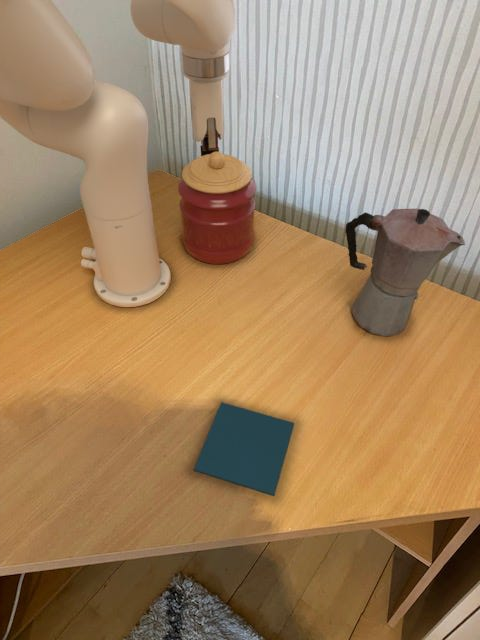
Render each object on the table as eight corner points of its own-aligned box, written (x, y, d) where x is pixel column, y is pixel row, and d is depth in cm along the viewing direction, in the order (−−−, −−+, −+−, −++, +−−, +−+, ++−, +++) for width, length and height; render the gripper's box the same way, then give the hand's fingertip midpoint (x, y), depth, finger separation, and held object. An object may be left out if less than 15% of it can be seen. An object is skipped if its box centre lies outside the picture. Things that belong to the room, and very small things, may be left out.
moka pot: (429, 347, 71) (481, 240, 56) (325, 331, 73) (349, 222, 58) (425, 303, 77) (470, 196, 63) (330, 289, 79) (353, 182, 64)
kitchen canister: (257, 264, 83) (262, 173, 70) (183, 267, 82) (174, 175, 69) (249, 220, 92) (253, 132, 79) (182, 223, 91) (175, 134, 78)
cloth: (193, 470, 57) (193, 469, 57) (221, 403, 64) (221, 402, 63) (274, 496, 55) (274, 494, 55) (294, 424, 62) (294, 422, 61)
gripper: (178, 47, 81) (187, 148, 94) (186, 83, 71) (194, 190, 85) (222, 45, 82) (224, 145, 95) (236, 80, 72) (236, 186, 85)
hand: (210, 166), depth 90 cm, fingers closed
